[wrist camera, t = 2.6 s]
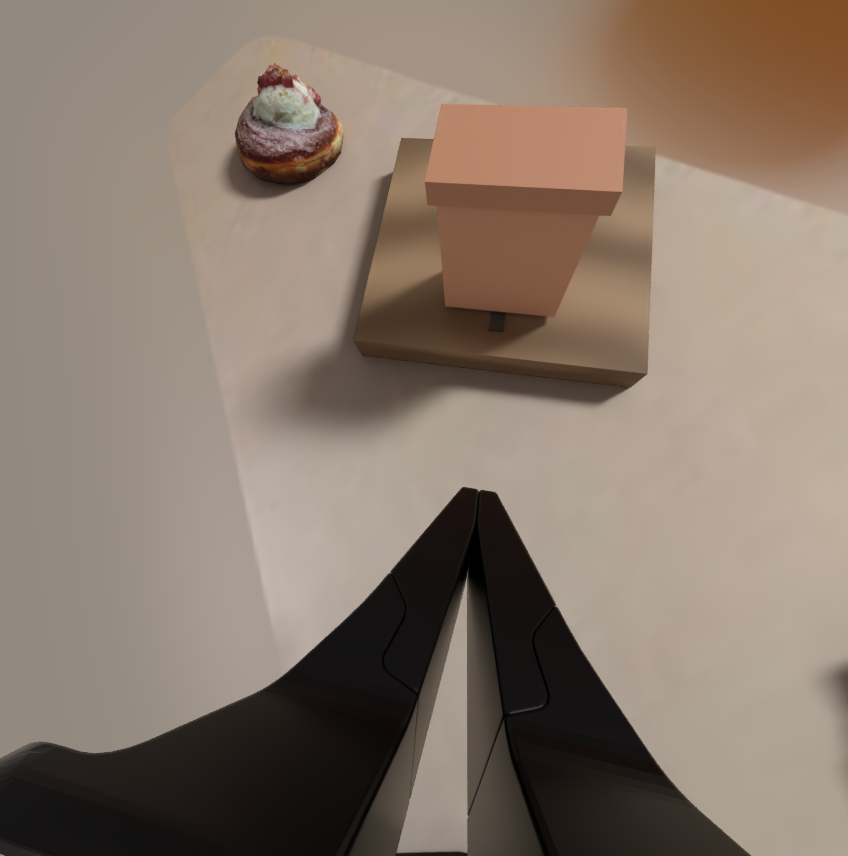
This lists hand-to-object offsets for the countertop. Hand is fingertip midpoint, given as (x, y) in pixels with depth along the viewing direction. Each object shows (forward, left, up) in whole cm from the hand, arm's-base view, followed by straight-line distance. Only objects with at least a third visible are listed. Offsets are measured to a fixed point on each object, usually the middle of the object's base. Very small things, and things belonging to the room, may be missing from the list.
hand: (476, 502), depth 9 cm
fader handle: (+3, +12, -10) cm, 16 cm away
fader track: (+4, +16, -12) cm, 20 cm away
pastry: (-10, +28, -12) cm, 32 cm away
